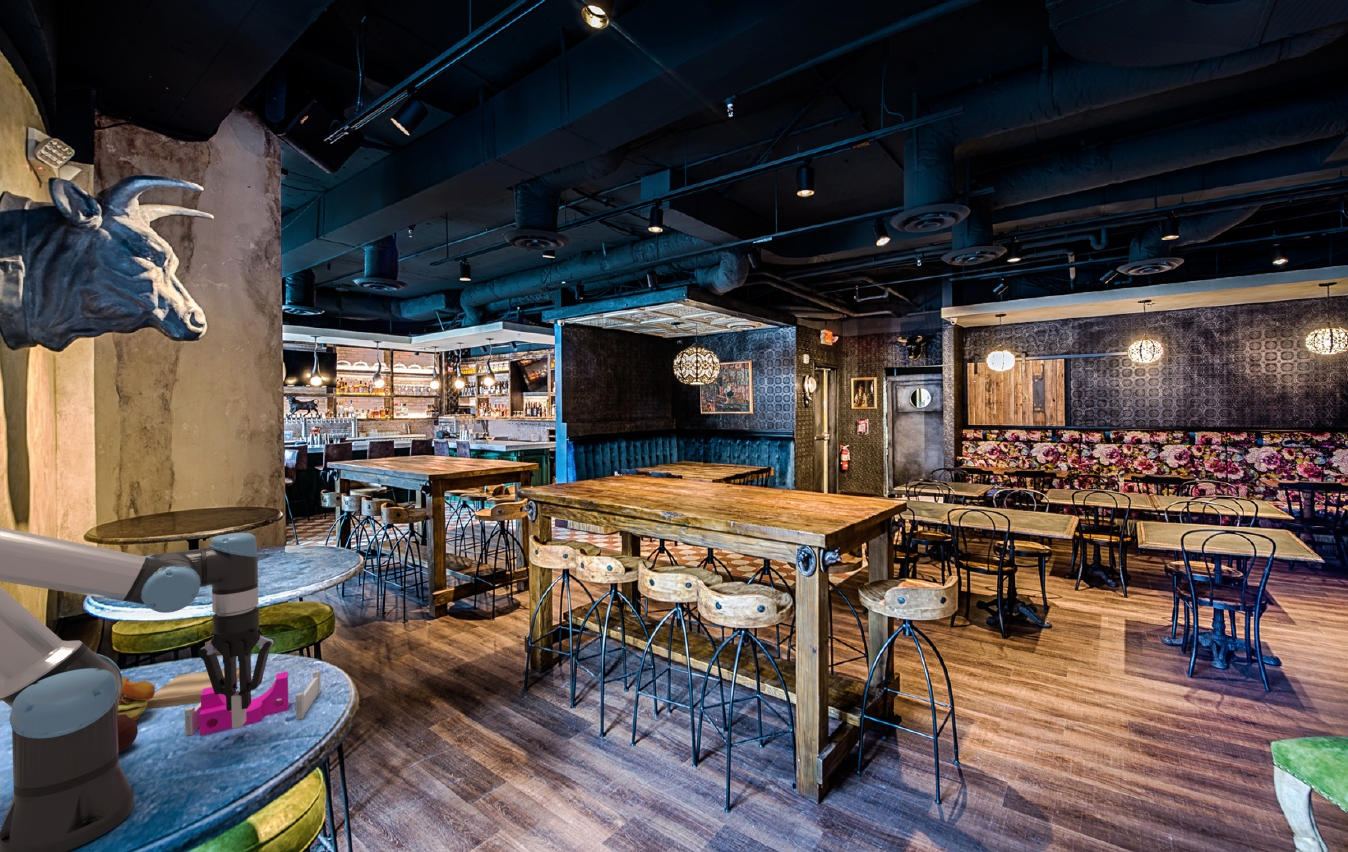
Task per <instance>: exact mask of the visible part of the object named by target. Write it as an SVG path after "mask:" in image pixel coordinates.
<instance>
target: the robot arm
mask: <svg viewBox="0 0 1348 852" xmlns="http://www.w3.org/2000/svg"><path fill="white" fill-rule="evenodd" d="M257 549H258V547H257V537H256V536H255V535H254V534H253V533H249V532H235V533H227V534H220V535H215V536H214V537H212V538H211V540H210V544H209V546H206V547H204V548H199V549H189V550H182V551H173V552H166V553H158V554H157V553H151V554H150V555H149V554H148V555H144V556H143V555H138V554H133V553H129V552H125V551H118V550H114V549H109V548H104V547H100V546H93V545H90V544H89V545H88V544H85V543H79V542H76V541H75V542H74V541H70V540H66V539H65V540H64V539H59V538H56V537H51V536H45V535H40V534H35V533H31V532H25V531H20V530H15V529H10V528H6V527H0V582H3V583H7V584H8V583H9V584H15V585H21V586H28V587H34V588H41V589H46V590H53V591H58V592H59V591H60V592H66V593H72V594H78V595H85V596H90V597H97V598H104V599H110V600H117V601H122V602H127V603H131V604H136V605H137V604H139V605H142V606H143V605H144V606H145V607H147V608H149V609H150V610H152V611H154V612H158V613H161V614H162V613H164V614H166V613H168V614H169V613H174V612H178V611H180V610H183V609H185V608H186V607H188V606H189V605H191V603H193V602H194V601H195V599H196V598H197V597H198V594H199V593H200V588H203V587H207V586H211V594H212V596H211V599H212V600H211V601H212V604H211V605H212V608H211V609H212V611H211V612H212V613H213V614H214V615H212V632H213V635H212V638H211V640H210V643H209V644H207V645H204V646H203V647H201V648H199V650H197V655H198V657H199V658H201V660H202V661H203V663H204V666H205V668H206V672H208V675H209V678H210V681H211V685H212V688H213V691H214V693H215V694H216V695H218V694H223V695H225V696H226V709H227V711H232V728H231V729H238V728H242V727H243V726H244V725H243V724H244V723H245V722H246V709H247V708H248V707H249V706H250V704H251V700H252V691H254V690H256V689H257V688H258V687H259V686H260V685H261V684H262V682H263V677H264V674H265V670H266V666H267V662H268V657H269V654H270V650H271V648H272V647H273V645H275V642H276V639H275V638H274V637H270V638H269V637H266V636H263V632H262V631H261V629H260V611H259V610H260V609H259V607H258V606H259V577H258V576H259V575H258V574H259V572H258V571H259V570H258V569H259V568H258V567H259V565H258V563H259V561H258V558H259V557H258V556H259V554H258V550H257ZM4 589H5V588H3V587H1V586H0V700H1V701H3V702H4V703H5V704H7V706H8V707H11V710H10V711H11V712H10V715H9V724H10V727H11V734H12V735H11V737H12V741H11V743H12V744H11V745H12V781H13V783H12V784H13V797H12V799H11V803H10V806H9V808H8V810H7V813H6V816H5V819H4V821H3V824H2V826H1V828H0V852H68V851H71V850H73V849H76V848H78V847H80V846H81V847H82V846H83V845H86V844H87V843H89V842H91V841H93V840H96V839H97V838H99V837H100V836H103V835H104V834H106V833H108V832H109V831H111V830H113V829H114V828H115V827H117V826H119V825H120V824H121V823H123V822H124V821H125V820H126V818H128V816H129V815H130V814H131V813H132V812H133V810H134V808H135V792H134V788H133V787H132V785H131V784H130V782H129V779H128V778H127V776H126V774H125V773H124V770H123V769H122V766H121V765H120V762H119V761H120V760H119V753H118V707H119V700H120V695H121V689H122V685H123V679H122V677H123V674H122V673H121V672H122V671H121V669H120V667H119V666H118V665H117V663H116V662H114V660H112V659H111V658H109V657H108V656H106V655H102V654H100V653H95V652H94V651H92V650H93V649H91V648H90V647H88V645H86V644H85V643H84V642H83V641H81V640H79V639H78V640H62V639H61V638H60V637H59V636H58V635H57V634H56V633H55V632H53V631H52V630H51V629H50V628H49V627H47V625H45V624H44V622H42V621H41V620H40V619H38V618H37V617H36V616H35V615H34V614H32V613H31V611H29V609H27V608H26V607H25V606H23V605H22V604H21V602H19V601H18V600H16V599H15V597H13V596H12V595H11V594H9V593H8V592H7V591H6V590H4ZM257 644H258V649H259V651H258V654H257V658H256V661H255V665H254V670H253V674H252V654H253V653H252V652H253V650H254V648H255V647H256V646H257ZM216 651H217V652H218V653H219V654H220V655H222V663H223V669H222V668H221V665H220V662H219V658H218V656H217V653H216ZM237 662H238V667H237ZM237 668H239V680H238V681H239V686H238V682H237ZM222 670H224V676H223V673H222ZM238 688H239V690H237V689H238ZM242 725H243V726H242Z"/></svg>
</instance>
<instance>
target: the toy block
mask: <svg viewBox="0 0 1348 852" xmlns="http://www.w3.org/2000/svg"><path fill="white" fill-rule="evenodd" d="M289 701H290V700H289V671H284V672H283V671H282V672H278V673H276V678H275V680H274V683H273V684H272V685H271V687H270V688H268V690H266V691H265V692H264V693H263V694H261V695H259V696H257V697H254V698H251V704H250V706H249V707H248V708H247V709H246V722H245V723H244V724H243V725H242V726H241V727H243V726H247V725H251V724H254V723H259V722H262V721H263V717H264V716H268V715H273V714H275V713H280V712H281V713H282V712H285V711H286V712H287V711H288V710H289ZM198 729H199V736H204V735H210V734H213V733H218V732H221V731H222V732H223V731H225V730H229V729H233V728H232V711H227V709H226V696H225V695H223V694H218V695H216V694H215V693H214V691H213V688H212V687H209V688H204V689H203V691H202V694H201V711H200V714H199V728H198Z"/></svg>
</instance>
